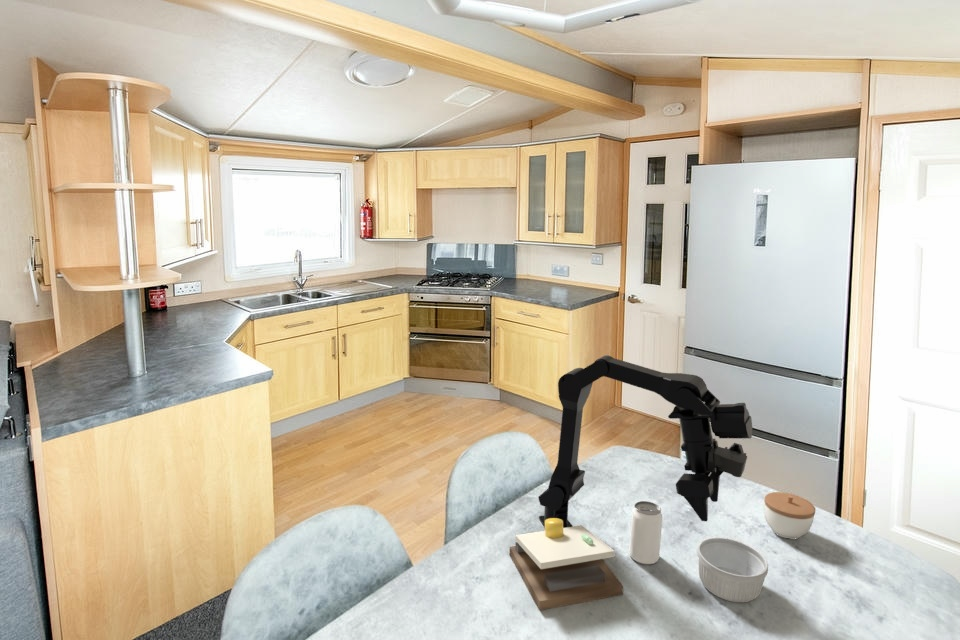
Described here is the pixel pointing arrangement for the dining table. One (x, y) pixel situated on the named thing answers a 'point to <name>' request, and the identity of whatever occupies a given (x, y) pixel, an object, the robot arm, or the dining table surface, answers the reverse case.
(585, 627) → the dining table surface
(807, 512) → the lidded jar
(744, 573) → the ramekin
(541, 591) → the walnut base
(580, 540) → the plate
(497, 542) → the dining table surface
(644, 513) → the can
